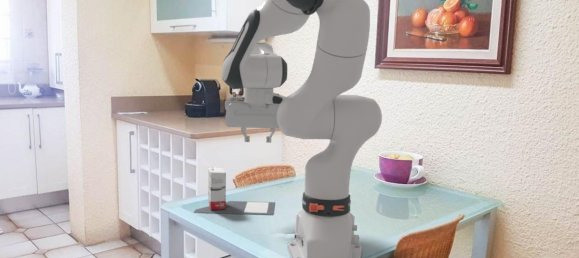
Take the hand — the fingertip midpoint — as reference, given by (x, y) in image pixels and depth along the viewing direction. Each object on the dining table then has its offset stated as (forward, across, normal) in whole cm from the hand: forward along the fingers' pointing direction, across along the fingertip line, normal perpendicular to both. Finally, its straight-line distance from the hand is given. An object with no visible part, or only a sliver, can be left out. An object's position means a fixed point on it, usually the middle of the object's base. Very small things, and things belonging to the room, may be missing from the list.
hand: (257, 142), depth 143 cm
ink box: (+21, -13, 0) cm, 24 cm away
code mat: (+21, -6, 0) cm, 22 cm away
